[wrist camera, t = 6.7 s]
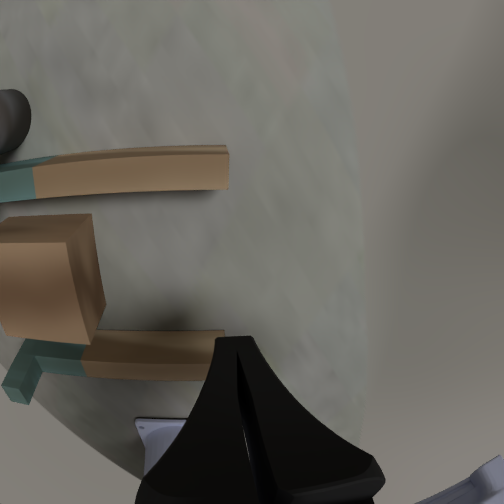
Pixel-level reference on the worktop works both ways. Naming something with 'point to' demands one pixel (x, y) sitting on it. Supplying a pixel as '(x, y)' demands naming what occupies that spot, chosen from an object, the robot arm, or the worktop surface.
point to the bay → (97, 182)
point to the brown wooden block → (50, 278)
